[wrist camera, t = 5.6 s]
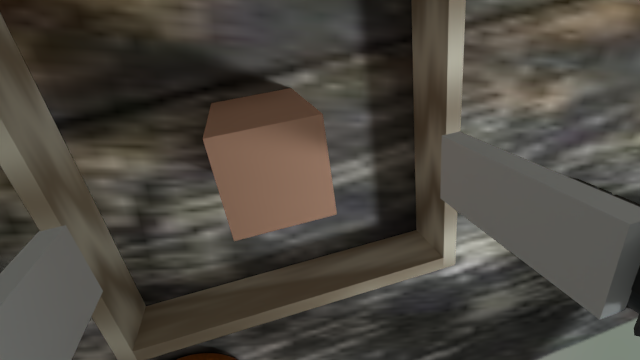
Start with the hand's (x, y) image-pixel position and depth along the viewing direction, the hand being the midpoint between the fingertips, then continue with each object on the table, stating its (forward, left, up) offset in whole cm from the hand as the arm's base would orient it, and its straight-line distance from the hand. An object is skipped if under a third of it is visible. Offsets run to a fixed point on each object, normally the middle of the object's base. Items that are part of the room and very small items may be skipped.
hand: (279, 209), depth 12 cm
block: (0, 0, -11) cm, 11 cm away
